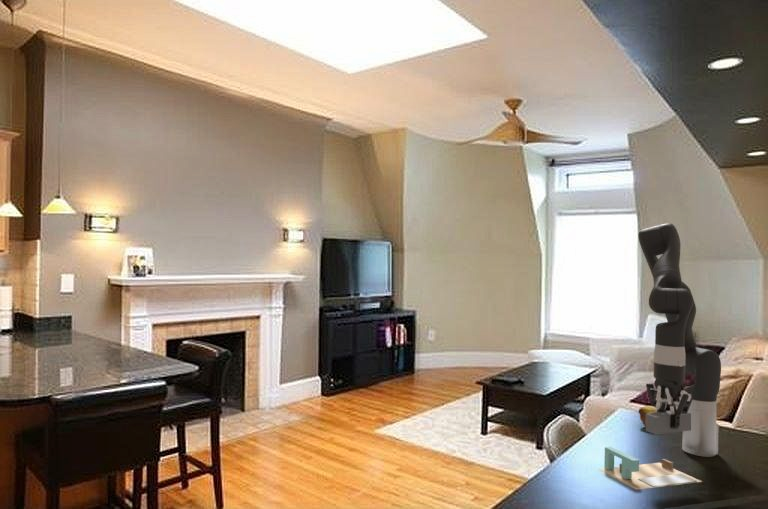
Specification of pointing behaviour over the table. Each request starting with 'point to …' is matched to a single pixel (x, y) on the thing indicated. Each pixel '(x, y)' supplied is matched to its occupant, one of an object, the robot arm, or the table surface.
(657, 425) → the grey block
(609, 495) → the table surface
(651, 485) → the board
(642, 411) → the fruit
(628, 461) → the green bracket
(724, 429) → the table surface
